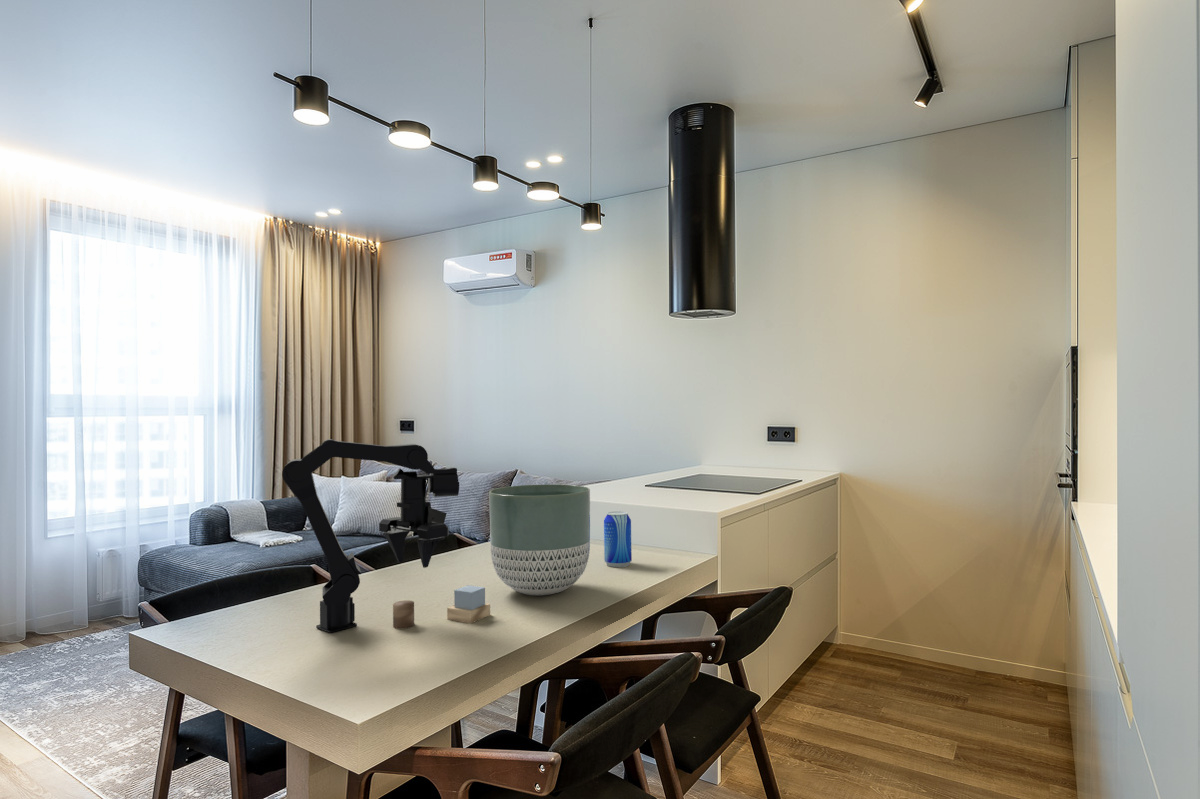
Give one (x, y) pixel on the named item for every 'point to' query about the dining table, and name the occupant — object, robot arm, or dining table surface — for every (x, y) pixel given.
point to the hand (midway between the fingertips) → (412, 564)
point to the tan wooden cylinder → (403, 614)
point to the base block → (468, 613)
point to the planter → (540, 536)
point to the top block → (469, 597)
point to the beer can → (617, 539)
